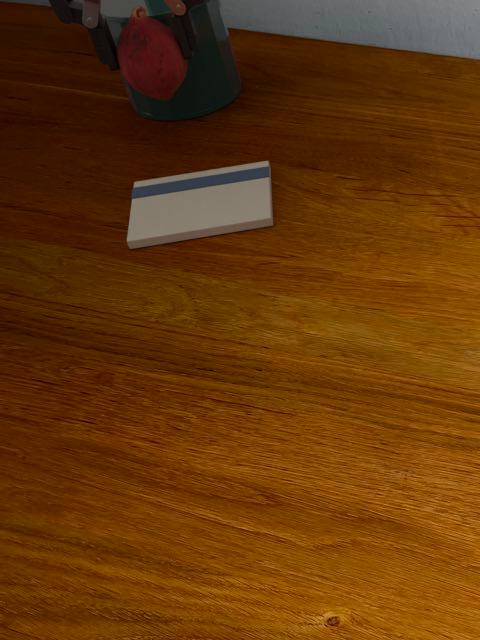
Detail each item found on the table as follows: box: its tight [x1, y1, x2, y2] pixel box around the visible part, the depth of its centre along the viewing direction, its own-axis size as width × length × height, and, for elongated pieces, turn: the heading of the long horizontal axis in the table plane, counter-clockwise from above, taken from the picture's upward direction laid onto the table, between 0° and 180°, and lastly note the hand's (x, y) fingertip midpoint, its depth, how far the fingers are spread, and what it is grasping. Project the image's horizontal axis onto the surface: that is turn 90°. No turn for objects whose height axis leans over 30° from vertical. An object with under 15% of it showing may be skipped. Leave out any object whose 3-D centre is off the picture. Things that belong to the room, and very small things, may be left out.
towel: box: [126, 160, 274, 250], centre depth 91 cm, size 12×10×1 cm
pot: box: [107, 0, 243, 122], centre depth 103 cm, size 11×16×10 cm
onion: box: [116, 6, 188, 101], centre depth 92 cm, size 6×6×8 cm
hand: (152, 60), depth 92 cm, fingers closed on onion, 6 cm apart
